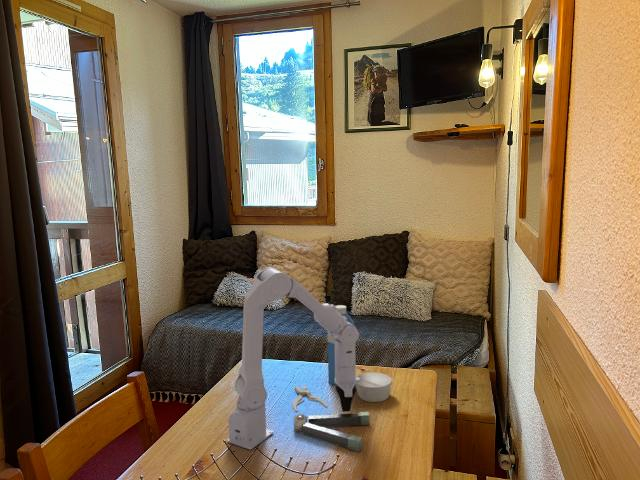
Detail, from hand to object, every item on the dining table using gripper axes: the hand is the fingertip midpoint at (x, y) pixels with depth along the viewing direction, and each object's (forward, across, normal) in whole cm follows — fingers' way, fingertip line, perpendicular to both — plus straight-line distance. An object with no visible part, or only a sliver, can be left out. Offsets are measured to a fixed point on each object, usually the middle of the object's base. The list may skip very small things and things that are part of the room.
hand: (346, 410), depth 134 cm
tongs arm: (+1, -5, +3) cm, 6 cm away
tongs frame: (+1, -12, +6) cm, 13 cm away
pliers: (+2, +12, +11) cm, 16 cm away
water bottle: (+2, +24, -1) cm, 24 cm away
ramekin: (+2, +12, -10) cm, 15 cm away
